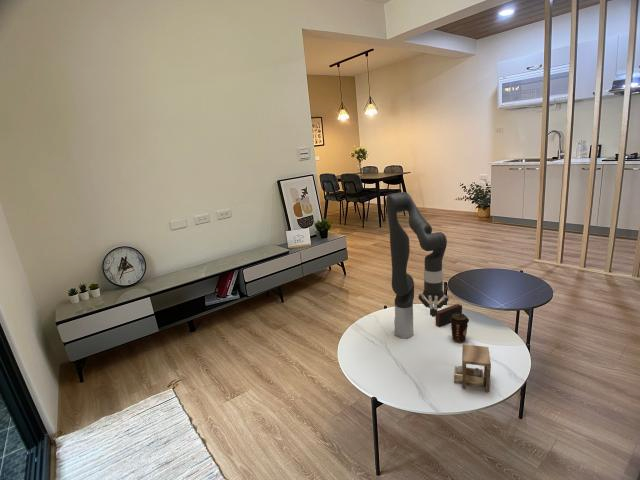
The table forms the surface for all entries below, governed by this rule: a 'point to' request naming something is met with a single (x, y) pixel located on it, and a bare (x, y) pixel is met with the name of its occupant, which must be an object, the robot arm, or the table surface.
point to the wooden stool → (476, 361)
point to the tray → (469, 376)
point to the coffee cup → (459, 327)
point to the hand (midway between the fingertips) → (433, 315)
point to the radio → (447, 314)
